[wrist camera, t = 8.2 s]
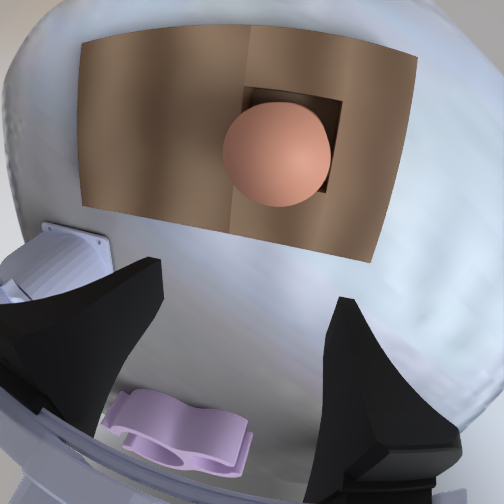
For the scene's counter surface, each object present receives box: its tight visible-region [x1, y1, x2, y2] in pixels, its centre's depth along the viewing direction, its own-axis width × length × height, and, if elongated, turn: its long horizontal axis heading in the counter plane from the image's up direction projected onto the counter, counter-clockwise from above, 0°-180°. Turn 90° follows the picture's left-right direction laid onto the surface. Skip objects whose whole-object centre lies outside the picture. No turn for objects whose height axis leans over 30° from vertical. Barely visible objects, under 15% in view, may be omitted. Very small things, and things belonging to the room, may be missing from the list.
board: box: [77, 25, 418, 263], centre depth 16 cm, size 20×12×3 cm, turn 84°
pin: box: [223, 102, 331, 207], centre depth 13 cm, size 4×4×7 cm
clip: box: [100, 389, 253, 477], centre depth 34 cm, size 20×12×7 cm, turn 101°
